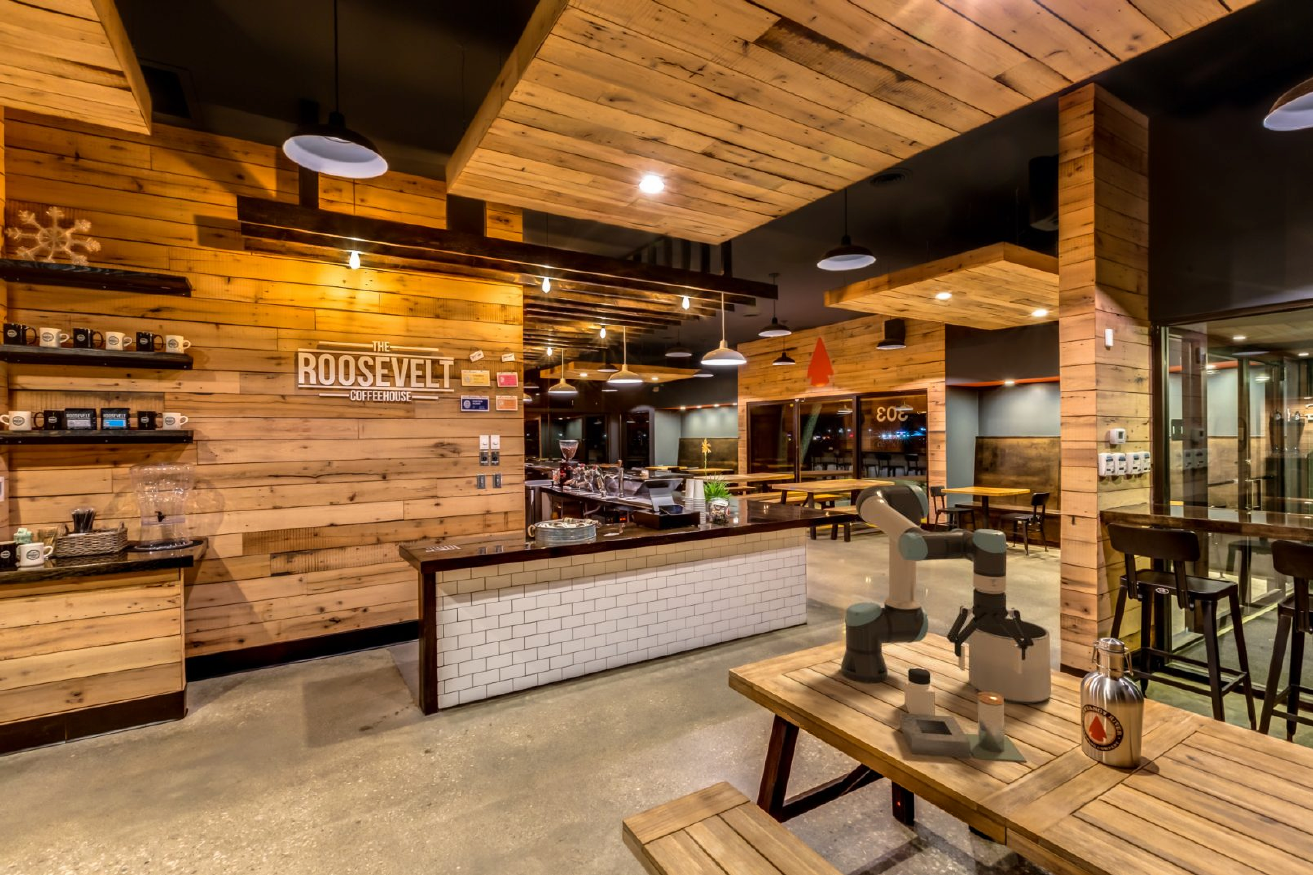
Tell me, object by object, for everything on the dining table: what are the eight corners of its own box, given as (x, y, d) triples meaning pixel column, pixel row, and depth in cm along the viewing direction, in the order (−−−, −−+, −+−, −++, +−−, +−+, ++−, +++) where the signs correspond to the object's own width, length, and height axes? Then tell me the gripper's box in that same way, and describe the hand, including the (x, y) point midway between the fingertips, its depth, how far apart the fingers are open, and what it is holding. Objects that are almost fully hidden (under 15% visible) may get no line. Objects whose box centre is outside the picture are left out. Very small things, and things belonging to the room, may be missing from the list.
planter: (1005, 671, 205) (1004, 613, 205) (1069, 699, 184) (1068, 634, 184) (952, 681, 198) (952, 621, 198) (1013, 711, 177) (1012, 643, 176)
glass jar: (975, 739, 160) (974, 691, 160) (999, 741, 159) (998, 692, 159) (983, 751, 154) (982, 701, 154) (1008, 753, 153) (1007, 702, 153)
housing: (900, 727, 168) (899, 713, 168) (953, 730, 166) (953, 716, 166) (912, 753, 155) (911, 738, 155) (970, 758, 152) (970, 742, 152)
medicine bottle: (935, 716, 175) (935, 675, 174) (909, 714, 176) (908, 673, 176) (929, 705, 182) (928, 665, 181) (904, 703, 183) (903, 664, 183)
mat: (959, 734, 164) (959, 733, 164) (1007, 738, 162) (1007, 736, 162) (974, 758, 152) (974, 756, 152) (1026, 762, 150) (1026, 760, 150)
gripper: (942, 592, 155) (942, 673, 156) (1048, 595, 150) (1048, 679, 151) (934, 584, 162) (934, 661, 163) (1035, 587, 158) (1035, 666, 158)
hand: (989, 670), depth 157 cm, fingers open, 13 cm apart
